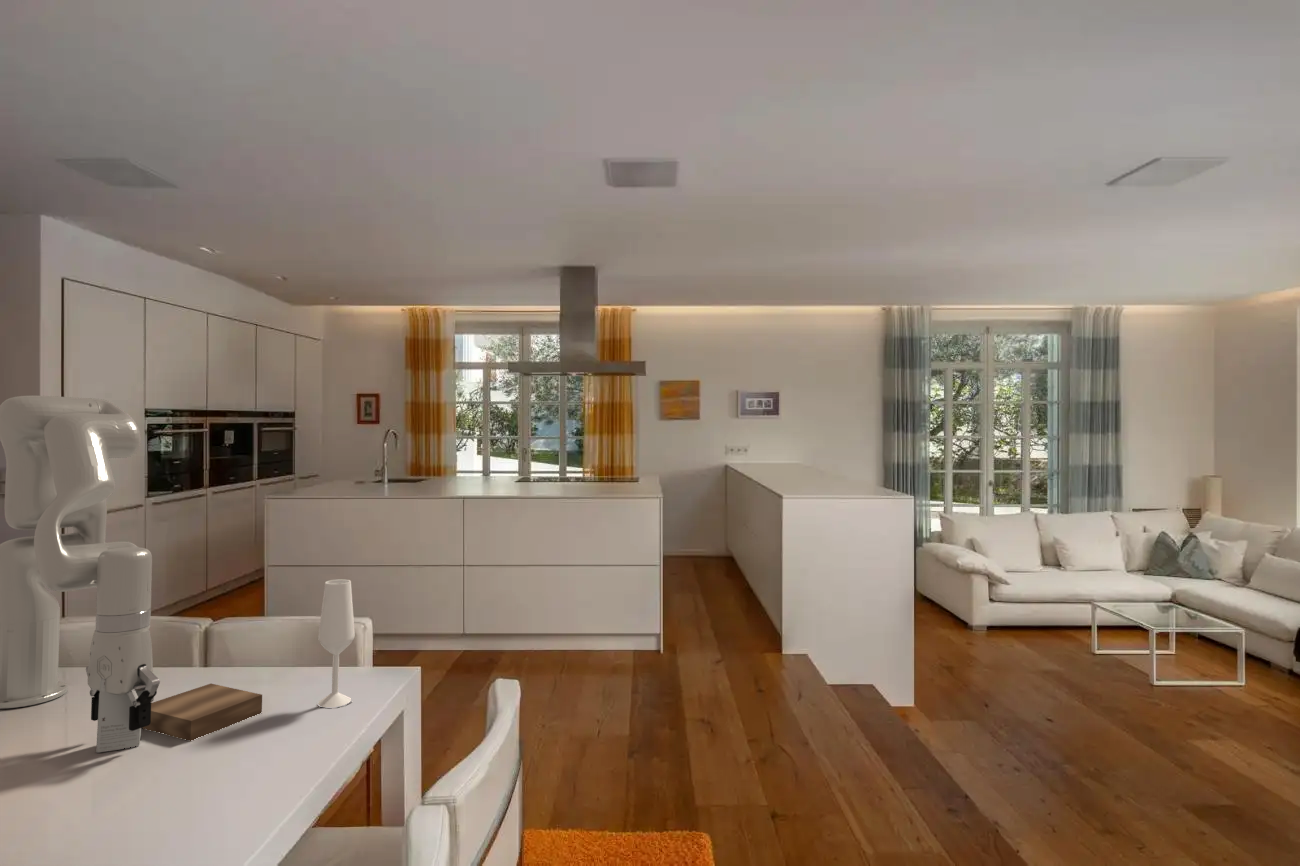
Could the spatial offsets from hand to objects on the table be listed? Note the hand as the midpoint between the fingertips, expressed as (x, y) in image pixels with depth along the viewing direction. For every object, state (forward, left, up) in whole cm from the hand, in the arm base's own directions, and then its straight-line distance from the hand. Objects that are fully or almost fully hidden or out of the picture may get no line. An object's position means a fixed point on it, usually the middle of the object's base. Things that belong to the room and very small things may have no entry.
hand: (120, 722), depth 122 cm
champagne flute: (+17, +30, -4) cm, 35 cm away
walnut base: (+2, +13, -4) cm, 14 cm away
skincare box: (0, 0, -4) cm, 4 cm away
